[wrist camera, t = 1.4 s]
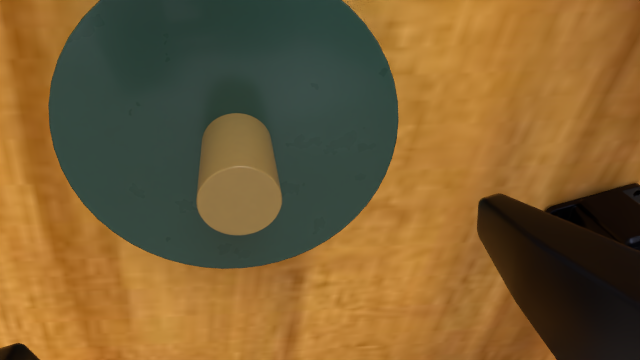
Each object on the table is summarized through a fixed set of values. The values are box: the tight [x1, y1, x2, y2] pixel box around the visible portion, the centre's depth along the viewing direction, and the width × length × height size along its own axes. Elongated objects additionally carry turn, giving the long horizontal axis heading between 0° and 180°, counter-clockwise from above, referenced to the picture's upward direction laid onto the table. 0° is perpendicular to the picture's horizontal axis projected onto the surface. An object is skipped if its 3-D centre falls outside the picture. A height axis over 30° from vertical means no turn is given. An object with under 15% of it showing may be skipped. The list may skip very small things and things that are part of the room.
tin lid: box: [49, 0, 398, 269], centre depth 15 cm, size 12×12×5 cm
